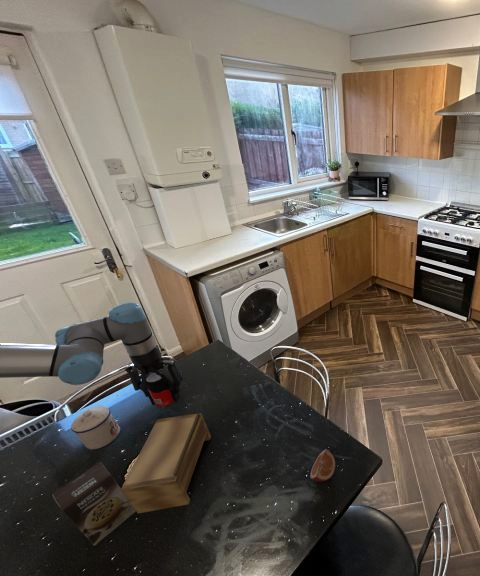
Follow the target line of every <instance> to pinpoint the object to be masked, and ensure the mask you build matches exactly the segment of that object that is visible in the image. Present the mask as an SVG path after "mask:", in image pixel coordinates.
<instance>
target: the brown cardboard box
mask: <svg viewBox="0 0 480 576" xmlns="http://www.w3.org/2000/svg"><path fill="white" fill-rule="evenodd" d="M121 488H122V487H120V485H119V484H118V483H117V481H116V480H115V478H114V477H113V475H112V474H111V472H110V471H109V470H108V469H107V467H106V466H105V465H104V464H103V463H102V462H101V461H99V462H97V463H96V464H94V465H93V466H92V467H90V468H88V469H86V470H85V471H84V472H83V473H81V474H79V475H78V476H77V477H75V478H74V479H72V480H71V481H69V482H68V483H66V484H64V485H63V486H62V487H61V488H59V489H58V490H56V491H54V492H53V493H52V498H53V499H54V501H55V503H56V504H57V505H58V507H59V508H60V510H61V511H62V512H63V513H64V514H65V515H66V517H67V518H68V519H69V520H70V521H71V522H72V523H73V524H74V525H75V527H77V528H78V530H79V531H80V532H81V533H82V534H83V535H84V536H85V537H86V539H87V540H89V542H90V543H91V544H92V545H93V546H97V545H98V544H99V543H100V542H101V541H102V540H103V539H105V538H106V537H107V536H108V535H109V534H111V533H112V532H113V531H114V530H116V529H117V528H118V527H119V526H121V525H122V524H123V523H124V522H125V521H127V520H128V519H129V518H130V517H132V516H133V515H134V514H135V513H137V512H136V510H135V509H134V507H133V506H132V505H131V503H130V502H129V501H128V499H127V498H126V497H125V495H124V494H123V493H122V491H121Z"/></svg>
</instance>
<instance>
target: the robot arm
mask: <svg viewBox="0 0 480 576" xmlns="http://www.w3.org/2000/svg"><path fill="white" fill-rule="evenodd" d="M54 337H55V344H36V343H35V344H34V343H31V344H30V343H2V342H1V343H0V379H6V378H7V379H8V378H13V379H14V378H47V377H51V378H52V377H53V378H54V377H55V378H56V377H58V378H59V380H60V381H61V382H62V383H66V384H68V385H70V386H71V385H72V386H79V385H85V384H88V383H90V382H92V381H94V380H95V379H96V378H97V377H98V376H99V375H100V374H101V372H102V367H103V365H104V351H105V345H107V344H111V343H114V342H117V341H121V342H122V345H123V346H124V348H125V351H126V353H127V354H128V356H129V359H130V361H131V362H130V363H128V364H127V366H126V367H125V368H124V371H125V372H126V373H127V375H128V376H129V379H130V381H131V384H132V387H133V389H134V391H137V392H138V391H141V392H143V394H144V396H145V398H148V400H149V402H150V403H151V405H152V406H156V405H155V403H154V401H153V398H152V396H151V394H150V392H149V390H148V388H147V386H146V381H147V380H146V378H147V377H148V375H149V374H151V373H156V374H157V375H159V376H160V377H161V378H162V379H163V380H164V381H165V382H166V383H167V384H168V385H169V386H170V388H169V390H170V392H171V395H172V397H173V399H174V402H173V403H178V402H179V400H180V397H181V395H180V391H181V389H180V386H181V384H182V382H183V381H184V379H183V376H182V375H181V373H180V371H179V369H178V367H177V366H176V360H175V359H174V358H170V359H169V360H168V359H165V358H164V357H163V356H162V352H161V350H160V347H159V345H158V343H157V341H156V338H155V336H154V334H153V330H152V329H151V326H150V323H149V321H148V318H147V315H146V314H145V311H143V308H142V307H141V304H138V303H136V302H124V303H120V304H119V305H115V306H112V307H111V308H110V309H109V310H108V315H107V316H104V317H99V318H95V319H91V320H86V321H83V322H79V323H73V324H71V325H67V326H64V327H61V328H58V329H57V330H56V331H55V334H54ZM139 371H140V373H139Z"/></svg>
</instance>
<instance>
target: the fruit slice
mask: <svg viewBox="0 0 480 576" xmlns="http://www.w3.org/2000/svg"><path fill="white" fill-rule="evenodd" d="M335 470H336V459H335V457H334V455H333V454H332V452H331V451H330V450H329V449H327V448H325V449H324V450H322V451H321V452H320V453H319V454H318V455H317V458H316V460H315V461H314V463H313V465H312V467H311V469H310V473H309V474H310V475H309V478H310V479H311V480H312V481H314V482H317V483H321V482H326V481H328V480H329V479H331V478H332V476H333V475H334V473H335V472H336V471H335Z"/></svg>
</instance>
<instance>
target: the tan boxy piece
mask: <svg viewBox="0 0 480 576" xmlns="http://www.w3.org/2000/svg"><path fill="white" fill-rule="evenodd" d="M211 438H212V435H211V433H210V430H209V428H208V425H207V423H206V421H205V417H204V416H203V413H202V412H200V413H192V414H186V415H179V416H178V415H177V416H171V417H164V418H157V420H156V421H155V423H154V425H153V427H152V429H151V431H150V432H149V435H148V437H147V438H146V441H145V442H144V444H143V446H142V448H141V450H140V452H139V454H138V456H137V457H136V460H135V462H134V463H133V465H132V467H131V469H130V471H129V473H128V475H127V476H126V479H125V481H124V482H123V484H122V486H121V487H120V488H121V491H122V493H123V494H124V495H125V497H126V498H127V499H128V501H129V502H130V503H131V505H132V506H133V507H134V509H135V510H136V512H135V513H137V514H142V513H149V512H155V511H160V510H165V509H171V508H175V507H182V506H187V505H190V502H191V497H189V494H188V492H187V491H188V489H189V486H190V483H191V480H192V477H193V474H194V471H195V468H196V465H197V462H198V461H199V460H198V459H199V457H200V454H201V451H202V448H203V445H204V442H205V441H210V440H211Z"/></svg>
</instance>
